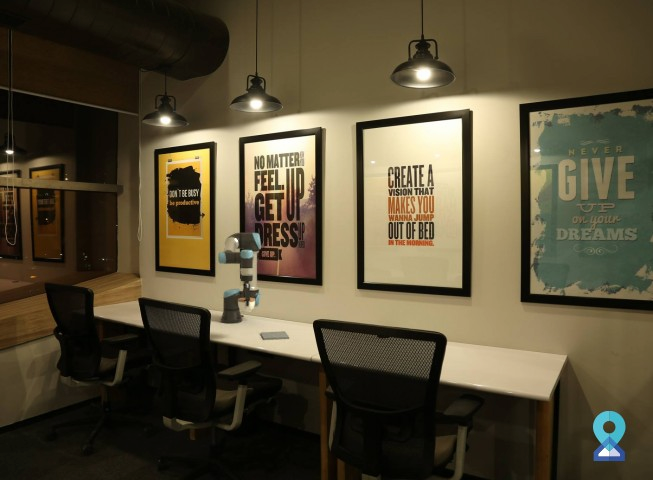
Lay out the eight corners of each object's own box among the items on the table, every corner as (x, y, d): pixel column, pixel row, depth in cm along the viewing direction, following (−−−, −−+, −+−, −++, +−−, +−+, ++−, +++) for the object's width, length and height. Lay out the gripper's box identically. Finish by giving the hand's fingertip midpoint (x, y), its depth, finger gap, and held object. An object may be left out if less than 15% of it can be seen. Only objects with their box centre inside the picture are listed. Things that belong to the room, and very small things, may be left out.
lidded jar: (251, 313, 293) (251, 298, 293) (235, 312, 295) (235, 297, 295) (257, 310, 304) (257, 295, 303) (241, 309, 306) (241, 294, 305)
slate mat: (260, 333, 310) (260, 332, 310) (284, 332, 314) (284, 331, 314) (263, 339, 295) (263, 338, 295) (289, 338, 299) (289, 337, 299)
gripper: (239, 272, 309) (238, 306, 310) (242, 277, 286) (241, 313, 287) (250, 272, 311) (250, 306, 311) (254, 276, 288) (254, 313, 289)
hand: (246, 309), depth 299 cm, fingers closed on lidded jar, 11 cm apart
